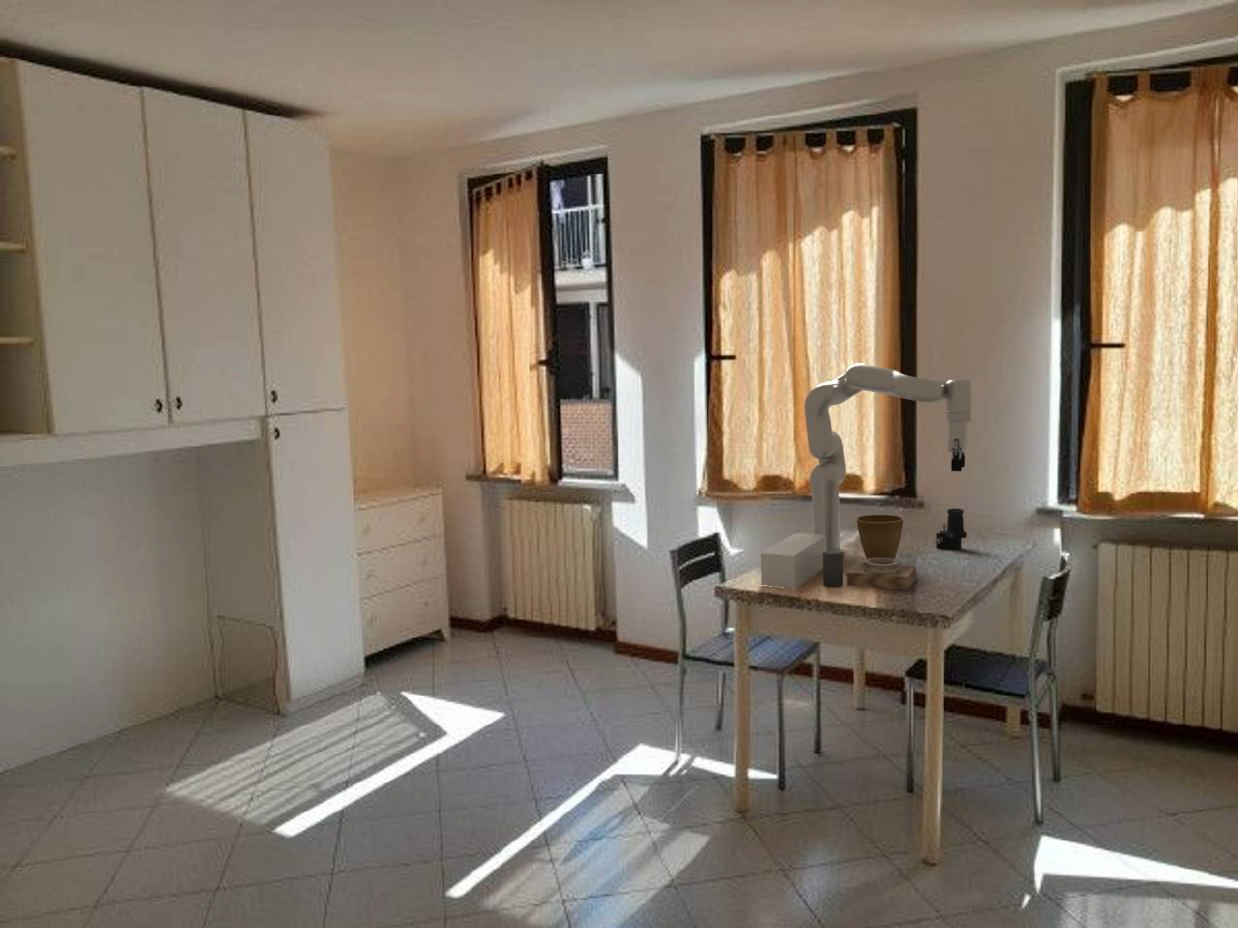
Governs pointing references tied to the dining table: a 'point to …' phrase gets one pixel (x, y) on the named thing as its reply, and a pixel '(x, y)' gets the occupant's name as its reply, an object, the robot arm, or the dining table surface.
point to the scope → (952, 531)
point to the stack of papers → (793, 560)
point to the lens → (833, 569)
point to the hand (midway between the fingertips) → (958, 469)
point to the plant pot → (880, 535)
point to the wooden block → (881, 574)
